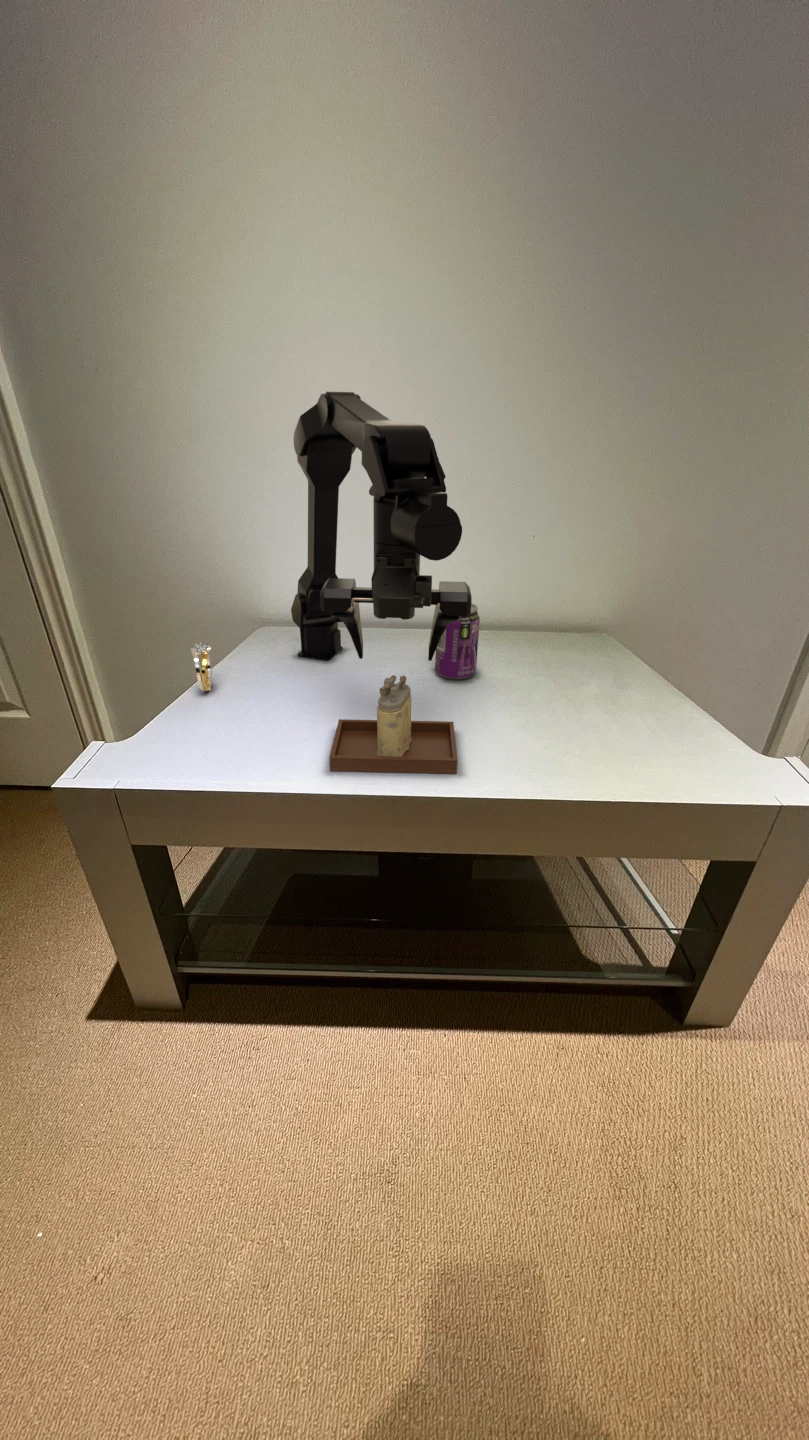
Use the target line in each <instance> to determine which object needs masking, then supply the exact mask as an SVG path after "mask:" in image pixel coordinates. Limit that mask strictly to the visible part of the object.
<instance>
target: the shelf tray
mask: <svg viewBox="0 0 809 1440" xmlns="http://www.w3.org/2000/svg"><path fill="white" fill-rule="evenodd" d="M454 723H455V722H454V721H447V720H446V721H443V720H441V721H440V720H411V742H410V744H409V750H408V751H405V753H404V754H403V756H402V757H386V756H378V755H377V751H378V735H377V719H345V718H344V719H341V718H340V719H338V722H337V726H336V730H335V734H334V737H333V741H332V746H331V749H330V753H329V771H330V772H342V773H343V772H346V773H347V772H348V773H350V772H351V773H391V774H393V773H395V774H396V773H397V774H398V773H399V774H434V775H435V774H437V775H438V774H440V775H441V774H442V775H443V774H444V775H457V774H458V753H457V741H456V733H455V725H454Z"/></svg>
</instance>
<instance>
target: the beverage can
mask: <svg viewBox="0 0 809 1440" xmlns="http://www.w3.org/2000/svg"><path fill="white" fill-rule="evenodd" d="M478 610H479V607H478V605H476V604H474V603H472V602H471V615H469V616H460V619H459V621H456V622H451V623H450V624H449V625H448V626H447V627H446V629H445V631H444V633H443V634H442V636H441V638H440V641H439V643H438V646H437V648H436V651H435V662H434V670H435V672H436V673H437V674H438V675H440V676H442V677H444V678H445V679H450V680H464V679H466V678H468V677H472V676H473V675H475V674H476V672H477V664H478V663H477V662H478V650H479V649H478V648H479V636H480V623H481V622H480V620H481V619H480V615H479V612H478Z"/></svg>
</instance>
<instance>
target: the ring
mask: <svg viewBox="0 0 809 1440" xmlns="http://www.w3.org/2000/svg"><path fill="white" fill-rule="evenodd" d="M211 650H212V646H211V645H208V642H204V644H203V641H199V644H198V643H195V645H194V646H192V647H190V651H191V654H192V658H193V661H194V667H195V673H196V679H197V683H198V686H199V688H200V690H201V691H202V692H209V691H211V689H212V688H211V687H212V681H213V671H212V659H211V653H210V652H211ZM199 657H200V658H199ZM200 659H201V661H202V664H201V662H200ZM201 665H202V666H201Z"/></svg>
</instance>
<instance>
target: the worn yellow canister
mask: <svg viewBox="0 0 809 1440" xmlns="http://www.w3.org/2000/svg"><path fill="white" fill-rule="evenodd" d="M396 681H397V676H396V675H394V674H393V675H391V676H390V677H385V678H384V681H383V686H381V687H380V688H379V694H380V697H379V698H378V700H377V704H378V705H377V707H376V720H377V735H378V751H377V755H378V756H386V757H402V756H403V754H404V753H405V751H408V750H409V744H410V742H411V721H412V702H413V701H412V700H413V699H412V697H413V696H412V693H411V691H412V689H411V687H410V685H409V684H407V676H406V675H405V674H403V675H401V676H399V681H398V682H396ZM395 682H396V683H395Z"/></svg>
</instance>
